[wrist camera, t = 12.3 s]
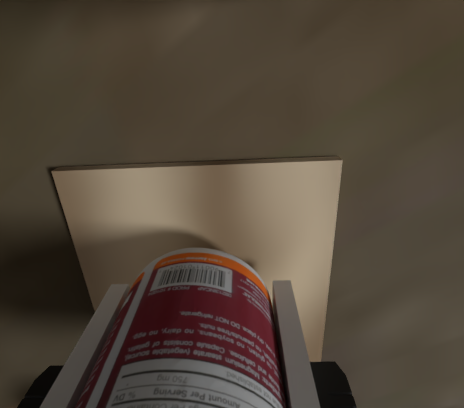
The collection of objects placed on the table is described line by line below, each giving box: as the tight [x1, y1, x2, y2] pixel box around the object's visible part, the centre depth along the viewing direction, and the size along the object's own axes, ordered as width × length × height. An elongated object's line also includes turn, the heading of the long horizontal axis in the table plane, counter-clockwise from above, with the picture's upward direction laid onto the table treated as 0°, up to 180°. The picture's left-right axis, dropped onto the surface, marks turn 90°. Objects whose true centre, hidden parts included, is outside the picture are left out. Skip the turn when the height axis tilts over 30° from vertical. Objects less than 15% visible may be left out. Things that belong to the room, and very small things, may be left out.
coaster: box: [51, 156, 343, 362], centre depth 15 cm, size 12×12×1 cm
